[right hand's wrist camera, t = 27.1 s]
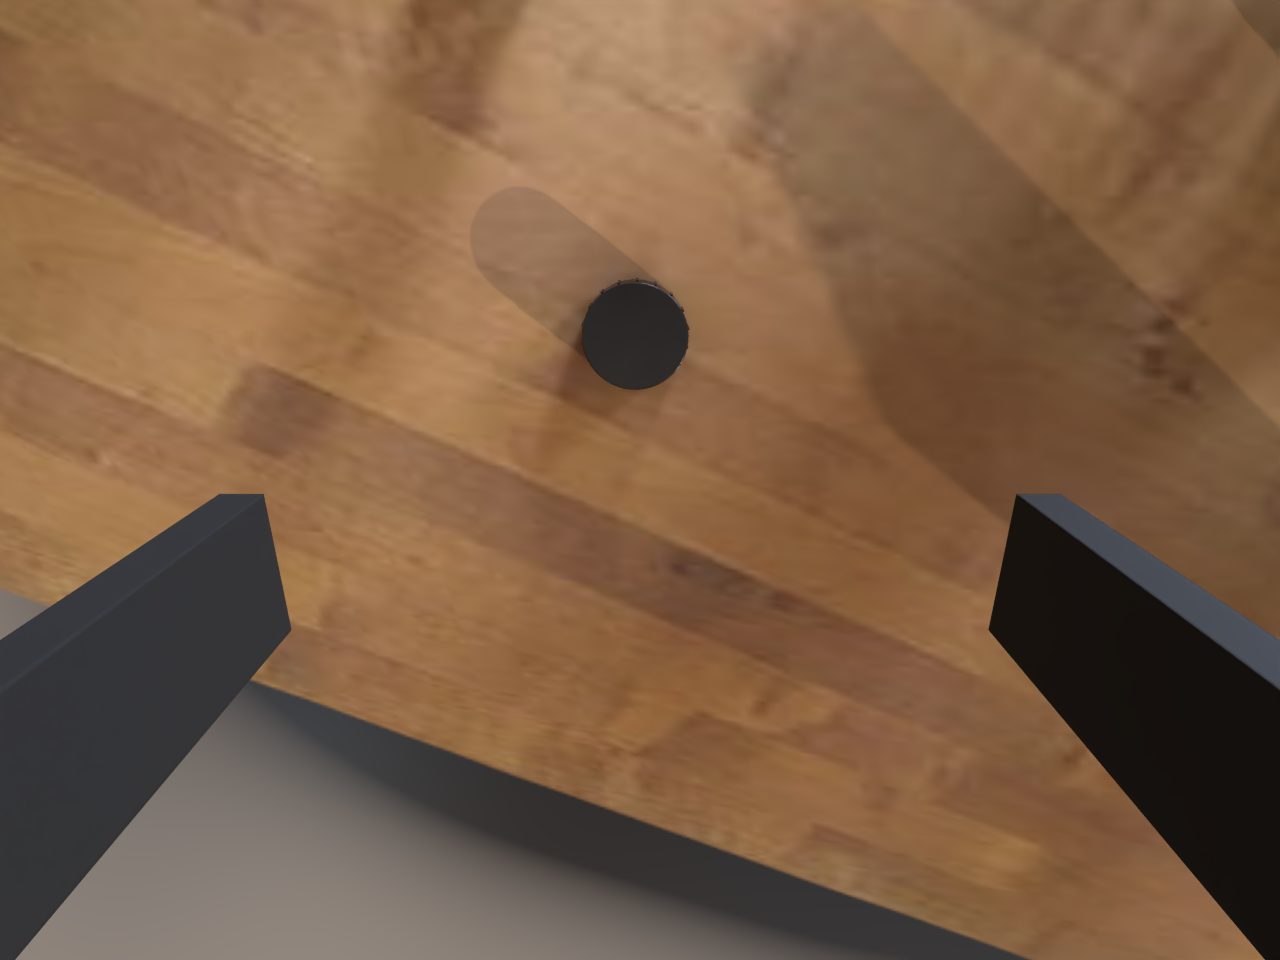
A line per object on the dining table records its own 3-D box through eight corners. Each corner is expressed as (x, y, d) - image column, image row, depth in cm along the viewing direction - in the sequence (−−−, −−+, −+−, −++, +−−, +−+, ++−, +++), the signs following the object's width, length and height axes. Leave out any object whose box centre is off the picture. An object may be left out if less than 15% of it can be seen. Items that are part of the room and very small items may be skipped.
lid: (593, 267, 36) (591, 270, 34) (698, 291, 36) (701, 295, 35) (574, 371, 38) (571, 378, 36) (674, 392, 38) (676, 400, 37)
